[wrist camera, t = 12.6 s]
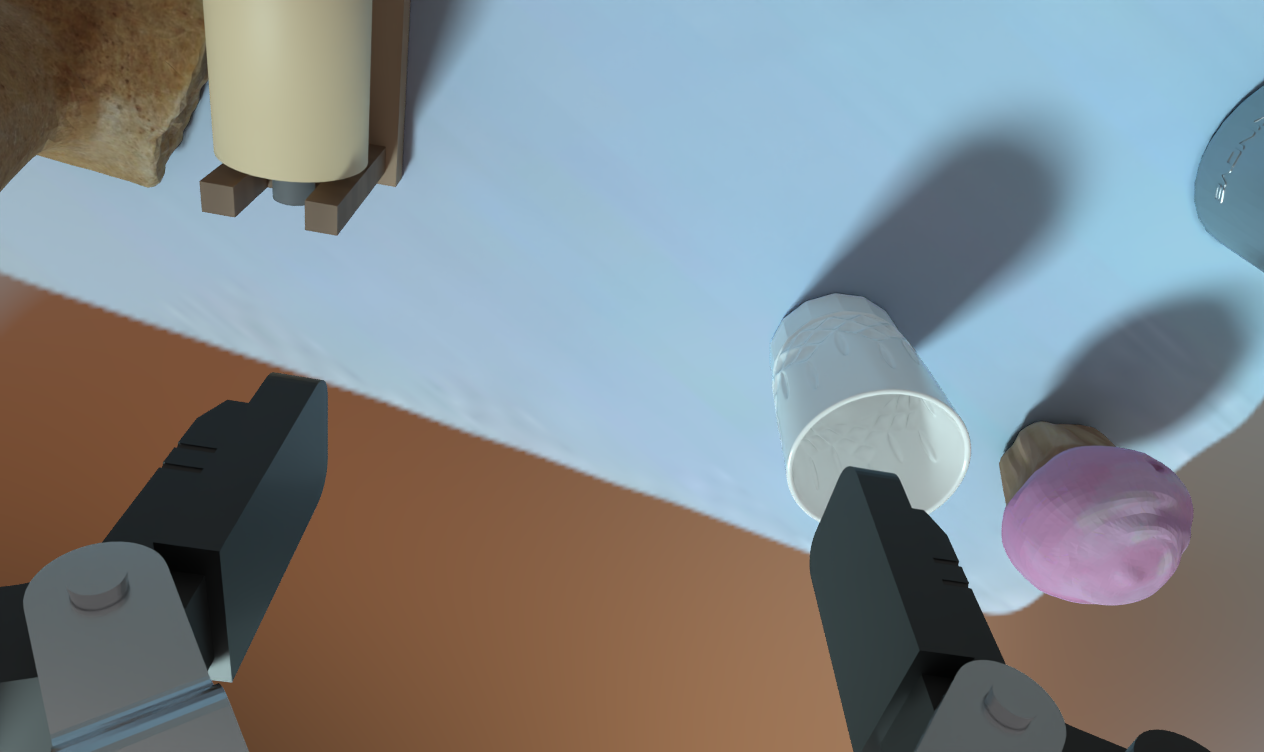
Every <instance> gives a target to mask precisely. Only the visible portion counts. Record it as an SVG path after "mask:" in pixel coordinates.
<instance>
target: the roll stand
mask: <svg viewBox="0 0 1264 752" xmlns="http://www.w3.org/2000/svg"><path fill="white" fill-rule="evenodd" d="M410 1H411V0H372V32H371V68H370V105H369V142H368V165H367V167H366V168H365V169H364V170H363V171H362V172H360V173H359V174H357V175H354V176H352V177H349V178H345V179H341V180H335V181H327V182H315V190H314V191H313V192H312V193H311V194H310V195H309V196H308V197H307V198H306V200H305V230H308V231H314V232H320V233H325V234H331V235H338V234H339V233H340V231H341V230H342V229H343V227H344V226H345V225H346V223H347V222H348V221H349V219H350V218H351V217H352V215H353V214H354V213H355V211H356V210H357V209H358V208H359V206H360V205H361V204H362V202H363V201H364V200H365V198H366V197H367V196H368V194H369V193H370V192H371V190H372V189H373V188H374V186H375V185H376V184H382V185H388V186H393V187H396V186H397V184H398V183H399V181H400V180H401V178H402V162H403V142H404V122H405V102H406V82H407V62H408V42H409V22H410ZM267 187H269V188H272V180H271V179H266V178H261V177H257V176H252V175H249V174H246V173H243V172H240V171H237V170H235V169H233V168H231V167H228V166H227V165H225V164H224V163H223V164H221V165H220V166H219V167H217V168H216V169H215V170H213V171H212V172H211V173H210V174H208V175H207V176H206V177H204V178H203V179H202V180H201V181H200V192H201V204H202V212H207V213H213V214H219V215H224V216H230V217H236V216H237V215H238V214H239V213H240V212H241V211H242V210H243V209H244V208H246V207H247V206H248V205H249V204H250V203H251V202H252V201H253V200H254V199H255V198H256V197H257V196H258V195H259V194H261V193H262V192H263V191H264V190H265V189H266V188H267Z"/></svg>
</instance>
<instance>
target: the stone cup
mask: <svg viewBox="0 0 1264 752" xmlns="http://www.w3.org/2000/svg"><path fill="white" fill-rule="evenodd" d="M208 79H209V78H208V64H207V51H206V37H205V23H204V10H203V0H0V192H1V190H2V189H3V188H4V187H5V186H6V185H7V184H8V183H9V181H10V180H11V179H12V178H13V177H14V176H15V175H16V174H17V173H18V172H19V171H20V170H21V169H22V168H23V167H24V166H25V165H26V164H27V163H28V162H29V161H30V160H31V159H32V158H33V157H35V156H36V155H39V156H42V157H46V158H50V159H53V160H56V161H60V162H63V163H67V164H70V165H74V166H77V167H81V168H85V169H89V170H93V171H96V172H99V173H103V174H106V175H109V176H113V177H116V178H120V179H123V180H127V181H130V182H133V183H136V184H139V185H142V186H145V187H148V188H149V187H154V186H156V185H157V184H159V183H160V182H161V180H162V178H163V176H164V173H165V164H166V163H167V161H168V159H169V157H170V155H171V154H172V153H173V151H174V150H175V149H176V148H177V147H178V145H179V144H180V143H181V141H182V140H183V131H184V129H185V128H186V126H187V125H188V123H189V120H190V117H191V114H192V112H193V111H194V110H195V109H196V107H197V104H198V102H199V96H200V90H201V87H202V86H203V85H204V84H205V83H206V82H207V81H208Z"/></svg>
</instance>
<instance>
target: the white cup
mask: <svg viewBox="0 0 1264 752" xmlns="http://www.w3.org/2000/svg"><path fill="white" fill-rule="evenodd" d="M770 368H771V374H772V379H773V380H772V389H773V396H774V403H775V410H776V416H777V417H776V418H777V425H778V431H779V436H780V442H781V447H782V453H783V459H784V464H785V470H786V476H787V482H788V486H789V489H790V492H791V494H792V496H793V498H794V500H795V501H796V502H797V504H798V505H799V506H800V507H801V509H802V510H803V511H804V512H806V513H807V514H808V515H809V516H811V517H812V518H813V519H815V520H817V521H818V522H820V521H821V518H822V516H823V514H824V511H825V509H826V507H827V504H828V502H829V500H830V497H831V495H832V493H833V490H834V488H835V486H836V483H837V481H838V479H839V476H840V474H841V473H842V471H843V470H844V469H845V468H846V467H848V466H852V467H858V468H865V469H871V470H877V471H883V472H889V473H895V474H896V475H897V476H898V477H899V479H900V481H901V483H902V486H903V488H904V490H905V493H906V495H907V497H908V500H909V502H910V505H911V507H912V508H914V509H921V510H924V511H925V512H926V513H927V514H930V513H932V512H933V511H935V510H936V509H937V508H939V507H940V506H941V505H942V504H943V503H945V502H946V501H947V500H948V499H949V498H950V497H951V496H952V494H953V493H954V492H955V491H956V489H957V488H958V487H959V485H960V484H961V482H962V480H963V479H964V477H965V474H966V472H967V469H968V466H969V463H970V457H971V443H970V437H969V434H968V431H967V428H966V426H965V424H964V422H963V421H962V419H961V418H960V416H959V415H958V413H957V412H956V410H955V409H954V407H953V406H952V404H951V403H950V401H949V400H948V398H947V397H946V395H945V394H944V392H943V391H942V389H941V388H940V386H939V385H938V383H937V381H936V380H935V378H934V377H933V375H932V374H931V372H930V371H929V369H928V368H927V366H926V365H925V364H924V362H923V361H922V360H921V358H920V357H919V356H918V354H917V353H916V351H915V350H914V349H913V347H912V346H911V344H910V343H909V342H908V340H907V339H906V338H905V337H904V336H903V335H902V334H901V333H900V332H899V331H898V329H897V328H896V326H895V325H894V323H893V321H892V320H891V318H890V317H889V315H888V314H887V312H886V311H885V310H883V309H882V308H880V307H879V306H877V305H876V304H874V303H873V302H871V301H869V300H868V299H866V298H865V297H863V296H854V295H846V294H838V293H833V294H830V295H826V296H823V297H819V298H816V299H812V300H808V301H806V302H804V303H803V304H802V305H800V306H799V307H798V308H796V309H795V310H794V311H793V312H791V313H790V314H789V315H787V316H786V317H785V318H784V319H783V320H782V322H781V323H780V325H779V327H778V329H777V331H776V333H775V335H774V337H773V338H772V340H771V342H770Z"/></svg>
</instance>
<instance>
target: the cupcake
mask: <svg viewBox="0 0 1264 752" xmlns="http://www.w3.org/2000/svg"><path fill="white" fill-rule="evenodd" d="M999 466H1000V473H1001V479H1002V485H1003V491H1004V496H1005V501H1006V507H1005V511H1004V515H1003V520H1002V542H1003V546H1004V548H1005V551H1006V553H1007V555H1008V557H1009V559H1010V561H1011V562H1012V564H1013V565H1014V566H1015V568H1016V569H1017V570H1018V571H1019V572H1020V573H1021V574H1022V575H1023V576H1024V577H1025V578H1026V579H1027V580H1028V581H1029V582H1030V583H1031V584H1033V585H1034V586H1035V587H1036V588H1037V589H1039V590H1040V591H1042V592H1044V593H1046V594H1048V595H1051V596H1055V597H1057V598H1061V599H1064V600H1067V601H1071V602H1076V603H1081V604H1100V605H1122V604H1128V603H1133V602H1137V601H1140V600H1142V599H1145V598H1147V597H1149V596H1151V595H1153V594H1154V593H1155V592H1157V591H1158V590H1159V589H1160V588H1161V587H1162V586H1163V585H1164V584H1165V583H1166V582H1167V581H1168V580H1169V578H1170V577H1171V576H1172V575H1173V573H1174V572H1175V571H1176V569H1177V567H1178V565H1179V563H1180V559H1181V555H1182V553H1183V552H1184V551H1185V549H1186V548H1187V547H1188V545H1189V541H1190V538H1191V525H1192V521H1193V505H1192V501H1191V497H1190V494H1189V492H1188V490H1187V488H1186V486H1185V485H1184V484H1183V483H1182V481H1181V480H1180V479H1179V478H1178V476H1177V475H1176V474H1175V473H1174V472H1173V471H1172V470H1171V469H1169V468H1168V467H1167V466H1165V465H1164V464H1162V463H1161V462H1159V461H1157V460H1155V459H1154V458H1152V457H1150V456H1148V455H1147V454H1145V453H1142V452H1138V451H1135V450H1130V449H1125V448H1119V447H1116V446H1115V445H1114V444H1113V443H1112V442H1111V441H1110V440H1109V439H1108V438H1107V437H1106V436H1104V435H1103V434H1102V433H1101V432H1100V431H1098V430H1097V429H1095V428H1093V427H1089V426H1084V425H1076V424H1053V423H1049V422H1044V421H1039V422H1036V423H1033V424H1031V425H1029V426H1027V427H1026V428H1024V429H1023V430H1021V431H1020V432H1019V434H1018V436H1017V438H1016V440H1015V442H1014V443H1013V445H1012V446H1011V447H1010V448H1009V449H1008V450H1007V451H1006V452H1005V453H1004V454H1003V456H1002V457H1001V460H1000V463H999Z"/></svg>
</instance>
